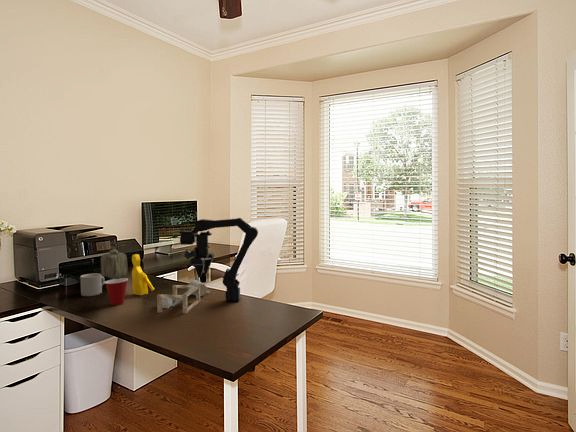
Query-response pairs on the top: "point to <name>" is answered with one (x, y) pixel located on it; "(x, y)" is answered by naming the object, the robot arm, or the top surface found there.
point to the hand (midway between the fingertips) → (202, 275)
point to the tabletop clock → (114, 264)
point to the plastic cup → (116, 290)
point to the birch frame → (175, 296)
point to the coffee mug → (91, 284)
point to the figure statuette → (139, 278)
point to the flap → (181, 298)
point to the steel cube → (166, 302)
